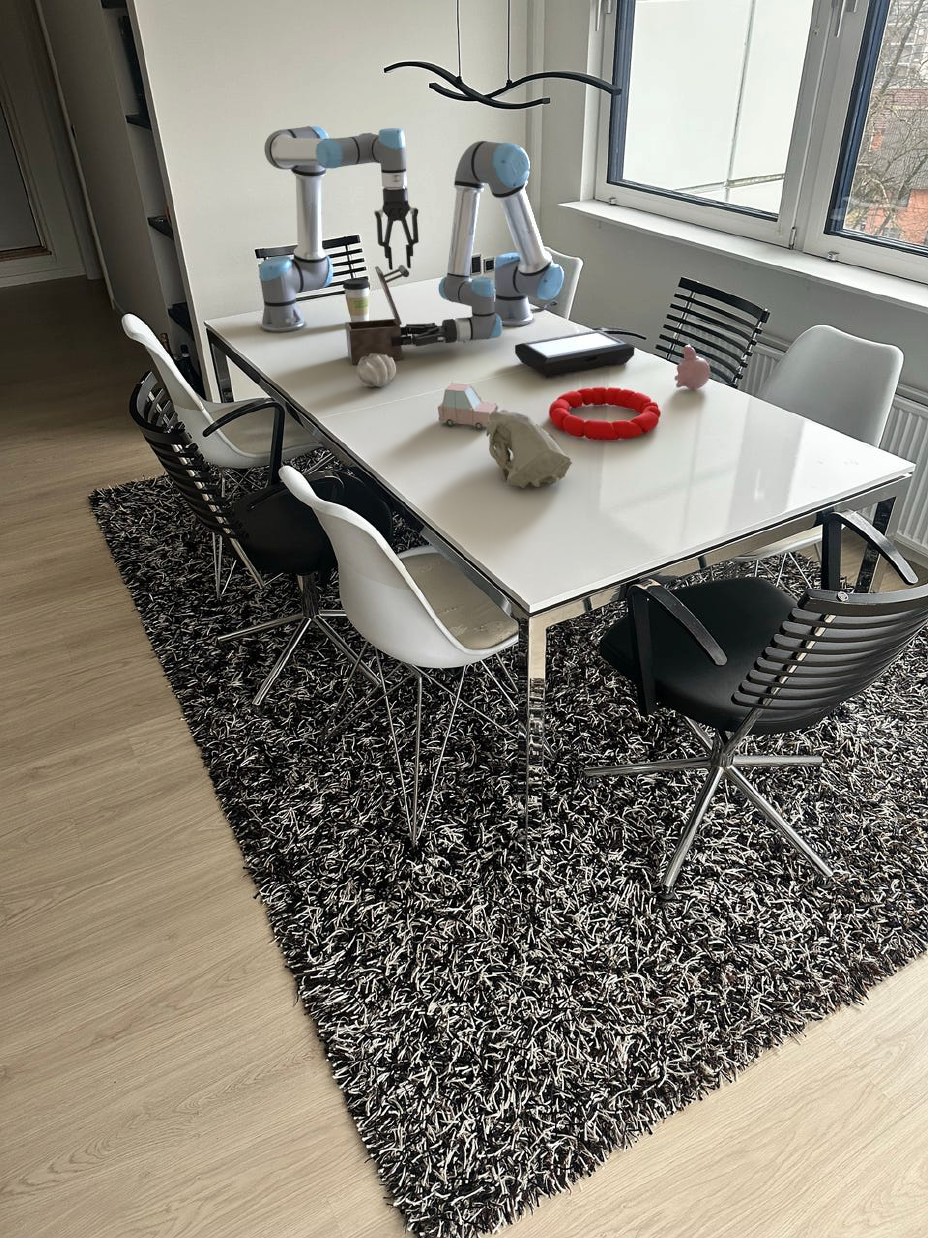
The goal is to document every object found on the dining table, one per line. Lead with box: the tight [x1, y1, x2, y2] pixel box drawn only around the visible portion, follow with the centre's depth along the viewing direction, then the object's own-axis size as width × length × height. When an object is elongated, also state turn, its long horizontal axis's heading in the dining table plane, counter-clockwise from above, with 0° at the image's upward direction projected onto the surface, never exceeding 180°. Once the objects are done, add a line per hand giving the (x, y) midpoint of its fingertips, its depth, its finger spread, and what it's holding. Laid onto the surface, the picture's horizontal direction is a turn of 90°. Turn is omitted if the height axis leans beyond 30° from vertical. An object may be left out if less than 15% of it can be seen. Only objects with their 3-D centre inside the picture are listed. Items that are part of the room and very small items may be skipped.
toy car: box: [437, 382, 499, 431], centre depth 243 cm, size 9×15×10 cm, turn 70°
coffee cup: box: [342, 277, 371, 322], centre depth 323 cm, size 10×10×15 cm
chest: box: [345, 318, 403, 365], centre depth 291 cm, size 17×10×11 cm, turn 104°
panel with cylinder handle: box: [374, 264, 410, 326], centre depth 284 cm, size 17×10×9 cm
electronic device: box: [514, 329, 636, 379], centre depth 282 cm, size 32×6×20 cm
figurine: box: [674, 344, 711, 390], centre depth 259 cm, size 9×11×12 cm
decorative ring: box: [548, 386, 661, 442], centre depth 242 cm, size 7×30×30 cm
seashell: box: [356, 353, 397, 388], centre depth 269 cm, size 10×15×10 cm
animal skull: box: [485, 409, 573, 489], centre depth 216 cm, size 17×25×20 cm
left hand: (399, 267), depth 281 cm, fingers open, 5 cm apart
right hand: (389, 337), depth 292 cm, fingers closed on chest, 9 cm apart
